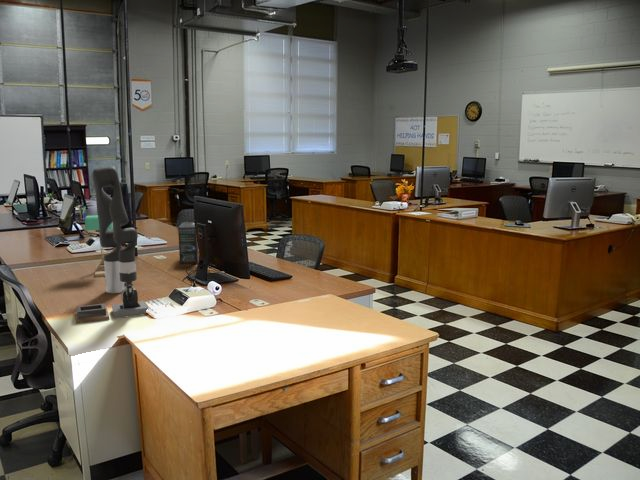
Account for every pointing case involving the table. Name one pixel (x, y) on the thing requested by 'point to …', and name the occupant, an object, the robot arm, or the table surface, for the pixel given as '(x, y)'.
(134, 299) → the battery
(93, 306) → the tray
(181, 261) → the computer tower
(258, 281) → the table surface
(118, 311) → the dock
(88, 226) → the banker's lamp
